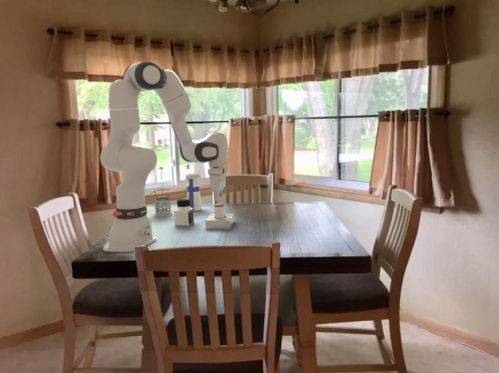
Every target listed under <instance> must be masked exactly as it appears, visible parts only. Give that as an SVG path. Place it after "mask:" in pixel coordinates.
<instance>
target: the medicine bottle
mask: <svg viewBox="0 0 499 373" xmlns="http://www.w3.org/2000/svg"><path fill="white" fill-rule="evenodd" d="M176 205H177V206H176V209H175V210H174V211H173V217H174V220H173V221H174V226H180V227H182V226H184V227H190V226H191V225H192V224H193V223H194V222H195V215H194V212H195V211H193V208H190V200H189V199H187V197H186V198H179V199H177V200H176Z"/></svg>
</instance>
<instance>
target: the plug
mask: <svg viewBox="0 0 499 373" xmlns="http://www.w3.org/2000/svg"><path fill="white" fill-rule="evenodd" d="M225 203H226V202H225ZM225 203H224V202H223V203H222V202H216V203H215V204H214V213H215V218H225V213H226V204H225Z"/></svg>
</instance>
